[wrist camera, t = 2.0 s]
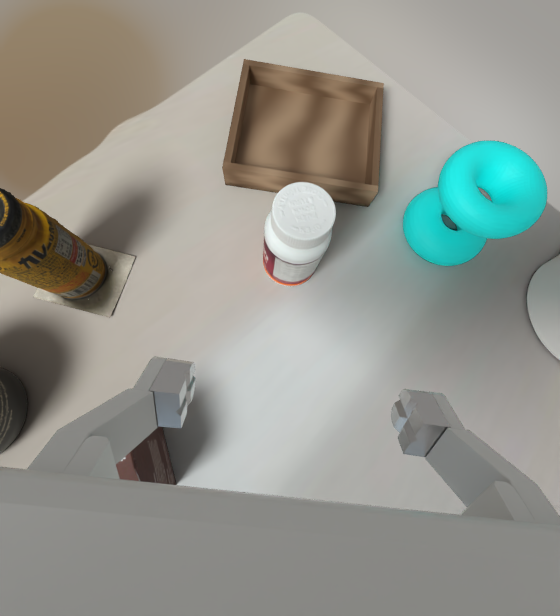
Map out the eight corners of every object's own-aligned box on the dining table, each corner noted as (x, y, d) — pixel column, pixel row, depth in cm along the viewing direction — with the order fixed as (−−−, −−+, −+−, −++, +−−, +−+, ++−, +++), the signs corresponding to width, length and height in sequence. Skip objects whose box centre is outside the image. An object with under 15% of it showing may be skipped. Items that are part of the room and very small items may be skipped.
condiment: (63, 237, 32) (-50, 160, 20) (136, 257, 32) (65, 191, 20) (34, 297, 30) (-107, 251, 19) (111, 318, 30) (18, 284, 19)
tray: (374, 104, 39) (383, 83, 36) (368, 206, 36) (377, 192, 33) (245, 83, 38) (244, 59, 36) (225, 184, 35) (222, 167, 32)
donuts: (549, 140, 27) (563, 235, 25) (472, 201, 37) (477, 273, 35) (449, 126, 27) (453, 221, 24) (398, 192, 36) (398, 264, 34)
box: (101, 444, 28) (46, 469, 20) (163, 423, 28) (131, 440, 21) (114, 510, 26) (60, 562, 19) (178, 486, 27) (149, 527, 20)
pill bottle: (266, 235, 34) (269, 170, 23) (316, 242, 34) (344, 180, 23) (260, 285, 32) (260, 240, 21) (313, 291, 33) (340, 250, 22)
